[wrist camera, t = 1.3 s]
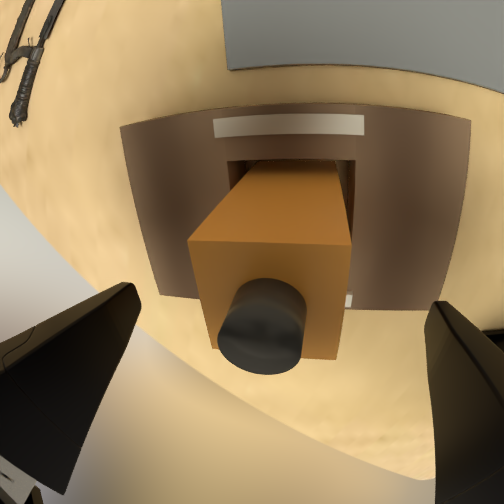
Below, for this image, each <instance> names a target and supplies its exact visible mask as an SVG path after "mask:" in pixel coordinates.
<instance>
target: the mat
mask: <svg viewBox="0 0 504 504" xmlns="http://www.w3.org/2000/svg"><path fill="white" fill-rule="evenodd" d="M221 5H222V16H223V27H224V37H225V48H226V58H227V68H228V70H239V69H247V68H258V67H270V66H287V65H349V66H365V67H377V68H387V69H396V70H403V71H410V72H417V73H423V74H428V75H434V76H439V77H444V78H448V79H453V80H457V81H461V82H465V83H469V84H473V85H477V86H480V87H484V88H487V89H490V90H493V91H497V92H500V93H503V94H504V0H221Z"/></svg>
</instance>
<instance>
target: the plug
mask: <svg viewBox="0 0 504 504" xmlns="http://www.w3.org/2000/svg"><path fill="white" fill-rule="evenodd" d="M187 243H188V247H189V252H190V257H191V262H192V266H193V271H194V275H195V280H196V284H197V288H198V293H199V297H200V301H201V305H202V309H203V314H204V318H205V322H206V326H207V330H208V333H209V337H210V341H211V345H212V348H213V349H219V350H220V351H221V353H222V354H223V356H224V357H225V358H226V359H227V360H228V361H229V362H231V363H232V364H234V365H235V366H237V367H239V368H241V369H243V370H245V371H248V372H252V373H256V374H263V375H273V374H280V373H283V372H286V371H288V370H290V369H292V368H293V367H294V366H296V364H297V363H298V362H299V360H300V358H308V359H325V360H336V358H337V352H338V347H339V341H340V335H341V329H342V322H343V316H344V309H345V302H346V294H347V286H348V278H349V269H350V259H351V249H352V244H351V237H350V231H349V226H348V220H347V215H346V209H345V204H344V199H343V194H342V189H341V184H340V180H339V175H338V171H337V166H336V162H335V161H322V160H273V161H258V162H257V163H256V164H255V165H254V166H253V167H252V168H251V169H250V170H249V171H248V172H247V173H246V174H245V175H244V177H243V178H242V179H241V180H240V181H239V182H238V183H237V184H236V185H235V186H234V187H233V189H232V190H231V191H230V192H229V193H228V194H227V195H226V196H225V197H224V199H223V200H222V201H221V202H220V203H219V204H218V205H217V206H216V208H215V209H214V210H213V211H212V212H211V213H210V214H209V215H208V217H207V218H206V219H205V220H204V221H203V222H202V224H201V225H200V226H199V227H198V228H197V229H196V230H195V232H194V233H193V234H192V235H191V236H190V237H189V239H188V240H187Z"/></svg>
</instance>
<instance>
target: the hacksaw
mask: <svg viewBox="0 0 504 504" xmlns="http://www.w3.org/2000/svg"><path fill="white" fill-rule="evenodd" d="M33 2H34V0H26V1H25V3H24V5H23V8H22V11H21V14H20V16H19V17H18V19H17V23H16V25H15V29H14V31H13V33H12V35H11V38H10V41H9V44H8V47H7V50H6V53H5V66H4V73H3V75H2V78H1V79H0V83H1V82H2V81H3V80H4V78H5V76H6V74H7V71H8V69H10V65H11V64H13V63H15V62H16V60H17V59H19V57H21V56H23V57H26V58H29V59H28V61H27V65H26V67H25V70H24V72H23V76H22V79H21V82H20V85H19V89H18V91H17V95H16V98H15V100H14V102H13V103H12V105H11V110H10V113H9V118H10V120H11V121H12V123H13V124H14V126H13V127H15V125H16V127H18V125H19V124H18V123H19V122H21V121H25V120H26V116H27V105H28V101H29V95H30V91H31V89H32V85H33V81H34V78H35V74H36V71H37V67H38V65H39V63H40V58H41V56H42V53H43V50H44V48H43V47H42V45H43V42H44V40H45V39H46V38H47V36H48V33H49V31H50V29H51V26H52V24H53V22H54V20H55V17H56V15H57V13H58V11H59V9H60V7H61V5H62V3H63V0H55V1H54V3H53V6H52V8H51V10H50V12H49V14H48V16H47V19H46V21H45V23H44V25H43V28H42V30H41V33H40V35H39V37H40V39H39V42H38V44H37V46H34V47H30V45H29V46H21V47H19V48H17V49H16V47H17V44H18V39H19V37H20V35H21V32H22V29H23V27H24V24H25V21H26V18H27V17H28V14H29V12H30V9H31V7H32V5H33ZM28 44H29V38H28ZM3 53H4V52H3ZM3 53H2V55H3ZM2 55H1V56H2ZM0 58H1V57H0Z"/></svg>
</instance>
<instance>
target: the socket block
mask: <svg viewBox="0 0 504 504" xmlns="http://www.w3.org/2000/svg"><path fill="white" fill-rule="evenodd" d="M120 132H121V138H122V144H123V149H124V155H125V160H126V165H127V170H128V175H129V180H130V185H131V189H132V194H133V198H134V203H135V207H136V211H137V215H138V219H139V223H140V227H141V231H142V235H143V239H144V242H145V246H146V250H147V253H148V257H149V260H150V264H151V267H152V271H153V274H154V277H155V281H156V284H157V287H158V290H159V293H160V295H166V296H174V297H183V298H193V299H200V297H199V293H198V288H197V284H196V280H195V275H194V271H193V266H192V262H191V257H190V252H189V247H188V243H187V240H188V239H189V237H190V236H191V235H192V234H193V233H194V232H195V230H196V229H197V228H198V227H199V226H200V225H201V224H202V222H203V221H204V220H205V219H206V218H207V217H208V215H209V214H210V213H211V212H212V211H213V210H214V209H215V208H216V206H217V205H218V204H219V203H220V202H221V201H222V200H223V199H224V197H225V196H226V195H227V194H228V193H229V192H230V191H231V190H232V189H233V187H234V186H235V185H236V184H237V183H238V182H239V181H240V180H241V179H242V178H243V177H244V175H245V174H246V166H245V160H266V159H330V160H349V180H348V208H347V220H348V226H349V231H350V237H351V244H352V249H351V259H350V269H349V278H348V286H347V294H346V302H345V309H355V310H430V308H431V305H432V303H433V302H434V301H438V299H439V296H440V293H441V290H442V287H443V284H444V281H445V277H446V274H447V271H448V267H449V263H450V260H451V256H452V252H453V248H454V244H455V240H456V235H457V231H458V226H459V221H460V216H461V211H462V205H463V200H464V193H465V187H466V179H467V171H468V162H469V151H470V136H471V120H468V119H464V118H460V117H455V116H451V115H446V114H441V113H435V112H429V111H422V110H415V109H407V108H399V107H389V106H378V105H365V104H345V103H282V104H263V105H249V106H237V107H227V108H218V109H210V110H203V111H195V112H189V113H182V114H176V115H171V116H165V117H160V118H155V119H150V120H146V121H141V122H137V123H133V124H129V125H125V126H122V127H120Z"/></svg>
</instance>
